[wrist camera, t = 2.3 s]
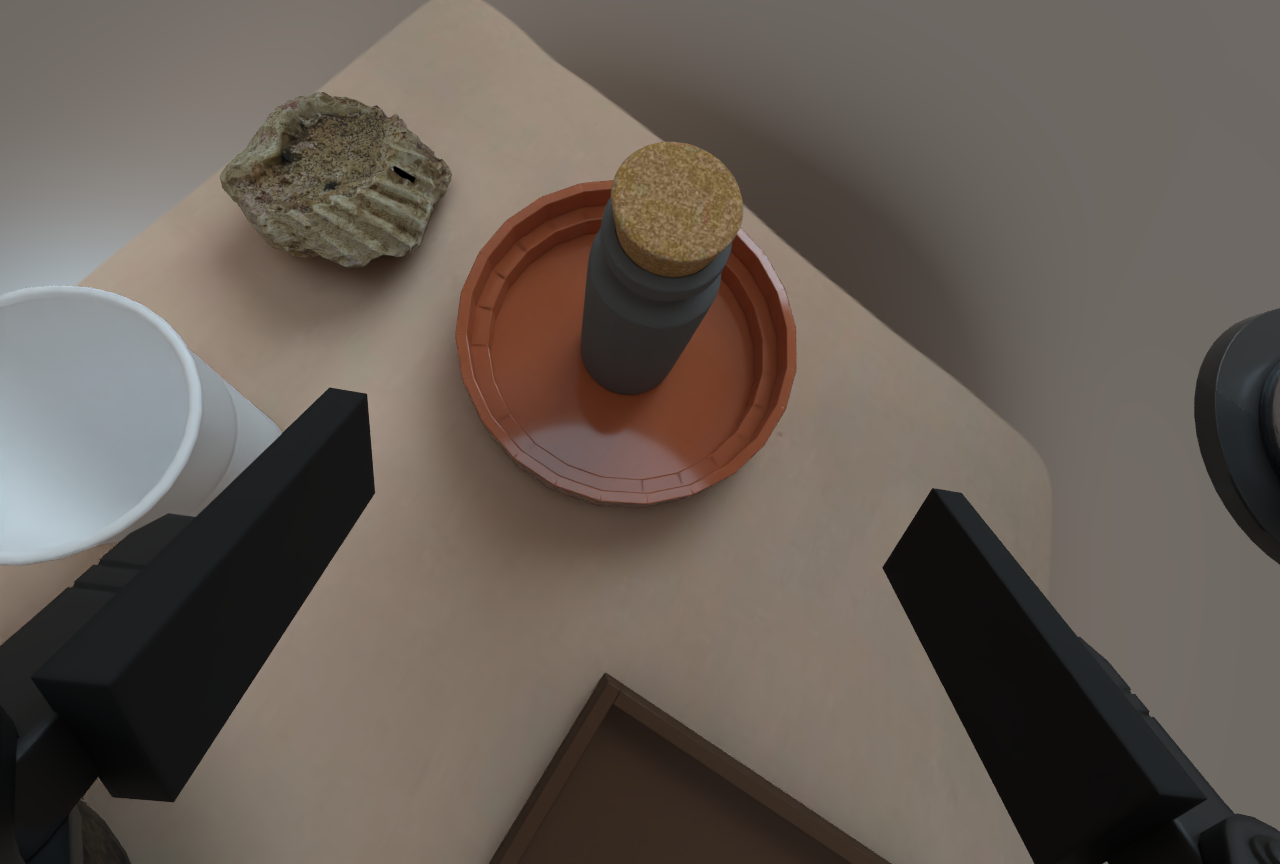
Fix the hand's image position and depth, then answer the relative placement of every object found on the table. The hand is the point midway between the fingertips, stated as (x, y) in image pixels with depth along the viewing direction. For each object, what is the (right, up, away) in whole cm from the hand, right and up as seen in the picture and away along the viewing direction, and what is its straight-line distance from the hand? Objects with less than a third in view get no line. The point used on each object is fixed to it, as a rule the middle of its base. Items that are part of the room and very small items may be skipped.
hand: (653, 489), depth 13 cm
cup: (-22, 0, +17) cm, 28 cm away
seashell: (-17, +15, +21) cm, 30 cm away
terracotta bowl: (-1, +6, +21) cm, 22 cm away
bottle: (-1, +6, +21) cm, 22 cm away
